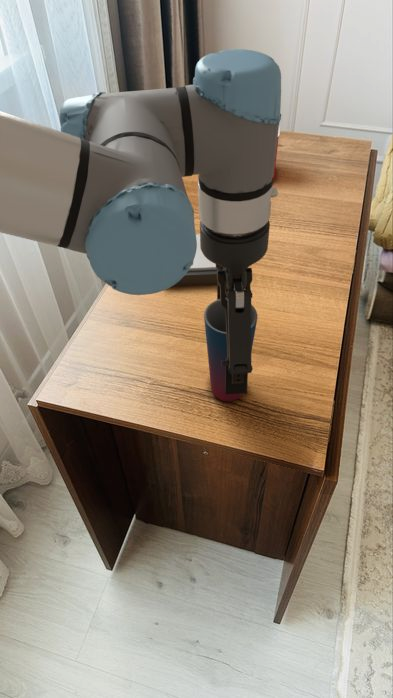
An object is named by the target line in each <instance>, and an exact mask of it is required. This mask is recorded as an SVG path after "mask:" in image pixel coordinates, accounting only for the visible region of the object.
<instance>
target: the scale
mask: <svg viewBox="0 0 393 698" xmlns="http://www.w3.org/2000/svg"><path fill="white" fill-rule="evenodd" d="M196 240H197V249H196V254H195V258H194V260H193V265H192V266H191V267H190V268H189V271H188V272H187V273H186V275H185V276H184V277H183V278H182V279H181V280H180V281H178V282H177V283H176V284H175V285H173V286H172V287H185V286H187V287H189V286H205V285H207V286H208V285H217V283H218V281H217V268H216V264H214V263H213V262H211V261H209V260H208V259H207V258H206V257H205V256H204V255H203V253H202V251H201V247H200V233H198V234H197V233H196Z"/></svg>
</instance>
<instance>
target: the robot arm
mask: <svg viewBox="0 0 393 698" xmlns="http://www.w3.org/2000/svg"><path fill="white" fill-rule="evenodd" d="M281 103H282V72H281V69H280V66H279V64H278V63H277V62H276V61H275V59H274V58H273V57H271V56H269V54H265V53H263V52H260V51H257V50H252V49H245V48H243V49H242V48H240V49H239V48H236V49H235V48H234V49H224V50H222V49H221V50H220V51H219V52H213V53H208V54H206V55H204V56H203V57H201V58H200V59H199V61H197V63H196V65H195V69H194V77H193V79H192V84H188V85H187V84H186V85H183V86H178V87H168V88H167V87H166V88H154V89H143V90H130V91H118V92H105V91H97V92H94V93H93V94H89V95H88V94H87V95H82V96H77V97H71V98H68V99H66V100H64V101H63V102H62V104H61V106H60V108H59V124H60V125H59V126H60V130H59V129H54V128H51V127H49V126H46V125H43V124H40V123H37V122H34V121H31V120H28V119H25V118H22V117H19V116H16V115H13V114H10V113H8V112H4V111H1V110H0V234H5V235H9V236H14V237H18V238H21V239H24V240H25V239H26V240H30V241H33V242H37V243H41V244H46V245H51V246H54V247H59V248H63V249H66V250H68V251H69V250H70V251H74V252H78V253H81V254H84V255H86V258H87V260H88V261H89V265H90V267H91V270H92V271H93V272H94V274H95V275H96V277H97V278H98V279H99V280H100V281H102V282H103V283H105V284H106V285H108V286H109V287H111V288H112V290H115V291H117V292H119V293H122V294H126V295H132V296H146V295H153V294H158V293H160V292H163V291H165V290H168V289H170V288H171V287H174V286H173V285H175V284H176V283H177V282H178V281H180V280H181V279H182V278H183V277H184V276H185V275H186V273H187V272H188V271H189V268H190V267H191V266H192V265H193V260H194V258H195V254H196V249H197V240H196V234H197V233H196V226H195V225H196V224H195V215H194V214H195V210H194V207H193V206H192V202H191V200H190V199H189V197H188V193H187V190H186V186H185V182H184V179H183V178H185V177H186V178H187V177H192V176H196V175H198V179H197V194H198V195H197V198H198V199H197V200H198V218H199V234H200V247H201V251H202V253H203V255H204V256H205V257H206V258H207V259H208V260H209V261H211V262H213V263H214V264H216V268H217V281H218V283H217V284H216V300H218V299H221V305H222V306H223V307H224V308H225V314H226V336H227V356H226V360H221V363H222V366H225V394H242V393H243V394H247V392H248V379H249V378H248V377H249V374H251V373H252V372H253V365H252V351H251V305H252V298H253V292H252V289H251V288H252V287H251V283H252V282H253V268H252V267H251V266H252V265H254V264H256V263H258V262H260V261H261V259H263V258H264V257H265V255H266V254H267V251H268V249H269V238H270V228H271V222H270V218H271V211H272V210H271V209H272V201H271V198H277V197H278V194H279V190H278V188H277V187H273V185H274V181H273V178H274V179H275V177H273V175H274V166H275V157H276V148H277V149H278V147H277V139H278V130H279V124H280V122H281V120H282V113H281V106H282V105H281ZM278 140H279V139H278ZM276 158H277V157H276ZM226 298H227V300H226Z"/></svg>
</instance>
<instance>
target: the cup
mask: <svg viewBox="0 0 393 698" xmlns="http://www.w3.org/2000/svg"><path fill="white" fill-rule="evenodd" d="M226 300H227V298H226ZM203 317H204V318H203V319H204V329H205V330H204V331H205V339H206V350H207V351H206V352H207V359H208V371H209V380H210V381H209V382H210V391H211V393H212V395H213V396H214V397H215V398H216V399H218V400H220V401H223V402H233V401H237V400H239V399H240V398H241V397H243V395H244V393H242V394H225V366H222V363H221V360H226V356H227V336H226V314H225V308H224V307H223V306H222V305H221V299H218V300H217V299H216V300H214V301H212V302H211V303H210V304H209V305H207V306H206V308H205V309H204V313H203ZM257 322H258V311H257V310H256V308H255V306H253V304H251V352H252V350H253V345H254V339H255V335H256V330H257V329H256V328H257V325H258V324H257Z"/></svg>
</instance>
